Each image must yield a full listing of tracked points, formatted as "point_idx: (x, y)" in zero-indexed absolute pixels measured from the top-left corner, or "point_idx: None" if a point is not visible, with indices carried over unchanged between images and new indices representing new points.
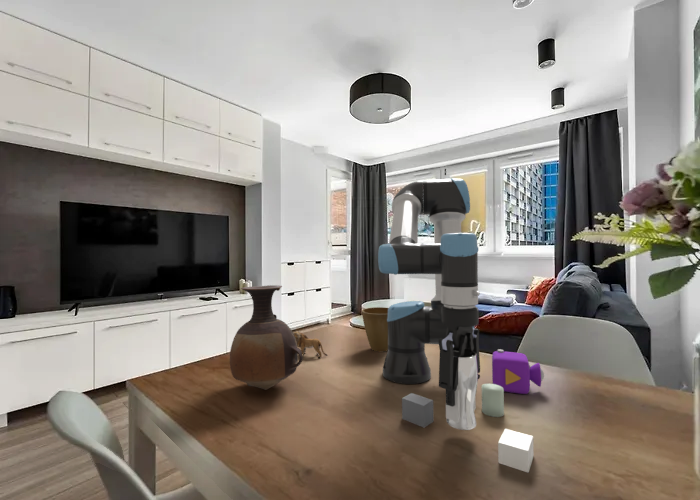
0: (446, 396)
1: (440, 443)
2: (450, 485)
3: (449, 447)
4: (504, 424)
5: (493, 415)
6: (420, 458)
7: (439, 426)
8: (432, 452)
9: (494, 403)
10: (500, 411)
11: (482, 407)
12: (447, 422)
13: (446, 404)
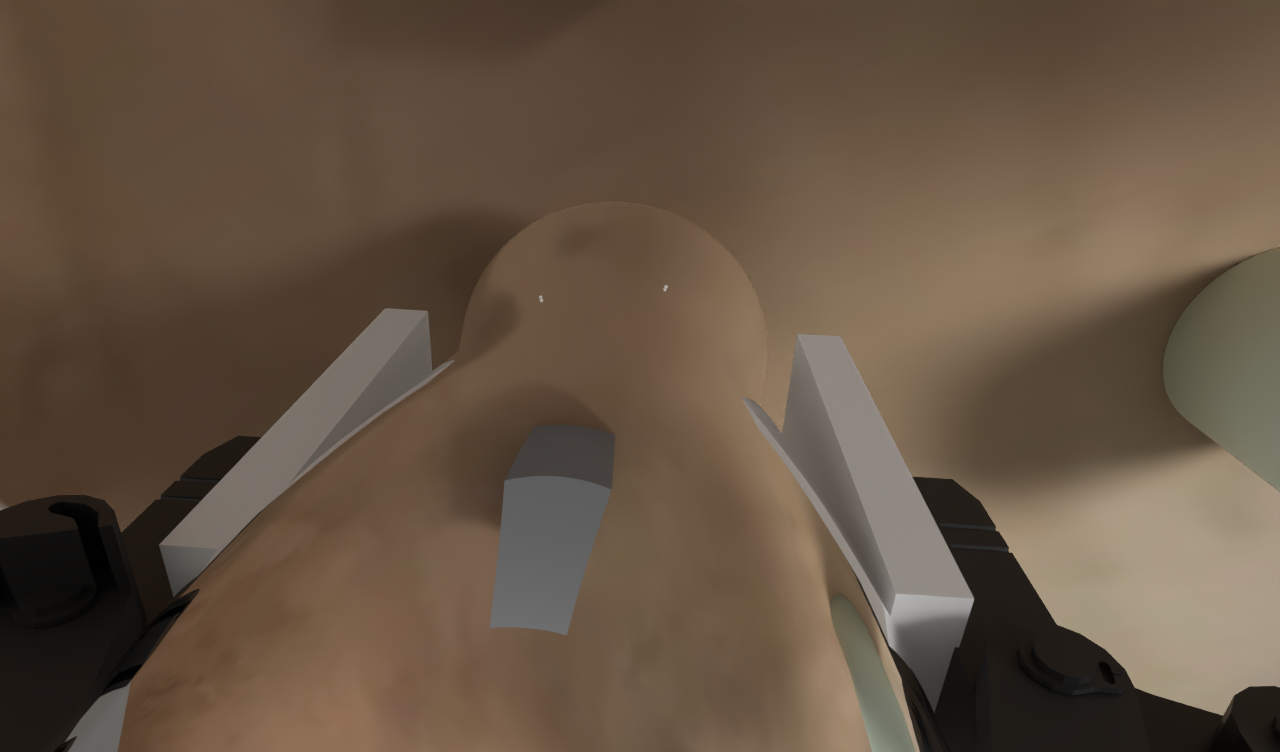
0: (148, 522)
1: (390, 208)
2: (45, 471)
3: (397, 293)
4: (1047, 487)
5: (1171, 386)
6: (76, 186)
7: (660, 46)
8: (225, 220)
9: (1253, 457)
10: (1226, 450)
11: (1263, 285)
12: (496, 253)
13: (234, 441)
